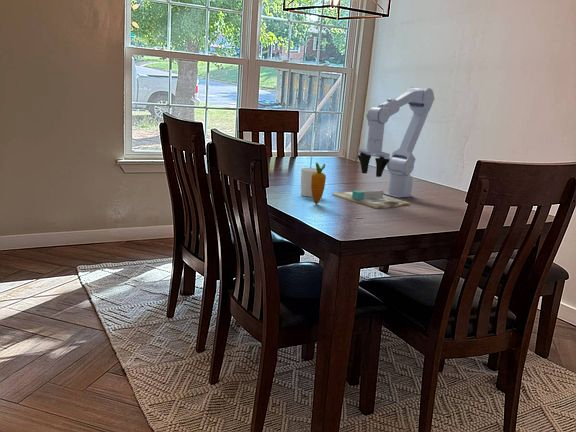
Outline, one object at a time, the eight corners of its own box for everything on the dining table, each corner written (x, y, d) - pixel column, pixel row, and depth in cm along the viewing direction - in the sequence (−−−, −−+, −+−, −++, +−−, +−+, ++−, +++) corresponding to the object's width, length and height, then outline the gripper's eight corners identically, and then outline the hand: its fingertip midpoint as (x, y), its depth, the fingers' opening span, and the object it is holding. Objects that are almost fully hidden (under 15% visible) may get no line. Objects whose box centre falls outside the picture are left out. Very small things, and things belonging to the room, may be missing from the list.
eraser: (378, 195, 208) (379, 188, 207) (384, 197, 206) (385, 190, 205) (351, 198, 200) (352, 190, 199) (357, 200, 197) (358, 192, 197)
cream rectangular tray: (365, 192, 218) (365, 188, 218) (410, 205, 200) (410, 200, 199) (332, 195, 208) (332, 190, 207) (376, 208, 189) (376, 203, 189)
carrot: (322, 203, 192) (326, 162, 188) (324, 206, 187) (327, 164, 183) (308, 202, 191) (312, 161, 188) (309, 205, 186) (313, 163, 183)
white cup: (302, 197, 200) (304, 170, 197) (296, 192, 207) (298, 167, 205) (322, 197, 202) (324, 171, 200) (315, 193, 209) (318, 168, 207)
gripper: (354, 137, 204) (350, 172, 207) (382, 141, 193) (378, 178, 196) (367, 137, 208) (363, 171, 211) (395, 141, 197) (391, 177, 200)
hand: (371, 175), depth 204 cm, fingers open, 7 cm apart
